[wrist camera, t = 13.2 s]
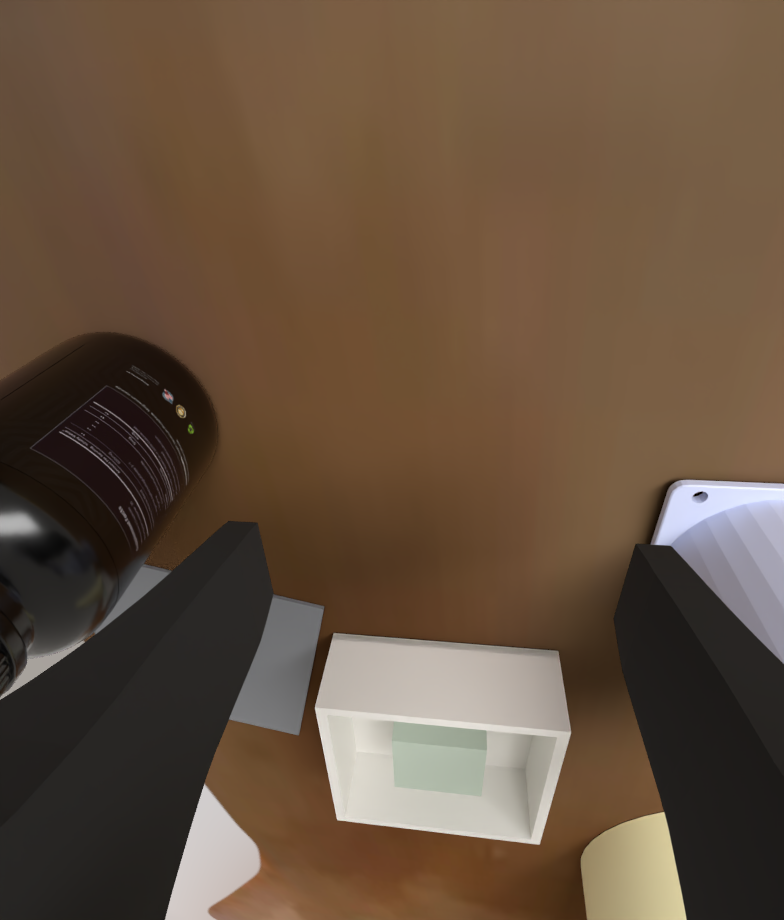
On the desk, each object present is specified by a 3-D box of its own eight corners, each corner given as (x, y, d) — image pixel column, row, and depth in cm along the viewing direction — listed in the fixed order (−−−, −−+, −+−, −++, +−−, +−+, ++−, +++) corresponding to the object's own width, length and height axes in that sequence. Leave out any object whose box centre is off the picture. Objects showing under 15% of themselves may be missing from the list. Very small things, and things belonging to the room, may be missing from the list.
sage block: (485, 692, 28) (486, 750, 25) (480, 739, 30) (481, 796, 28) (398, 684, 28) (391, 740, 26) (400, 731, 31) (394, 786, 28)
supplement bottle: (130, 499, 24) (-115, 790, 14) (14, 365, 20) (-414, 618, 10) (259, 453, 21) (76, 762, 11) (151, 295, 18) (-231, 534, 8)
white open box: (558, 651, 26) (571, 732, 22) (532, 767, 32) (539, 844, 29) (333, 632, 27) (314, 707, 24) (350, 748, 33) (337, 820, 30)
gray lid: (327, 596, 27) (302, 683, 23) (302, 723, 33) (279, 806, 29) (89, 540, 26) (22, 618, 22) (112, 679, 33) (64, 757, 29)
